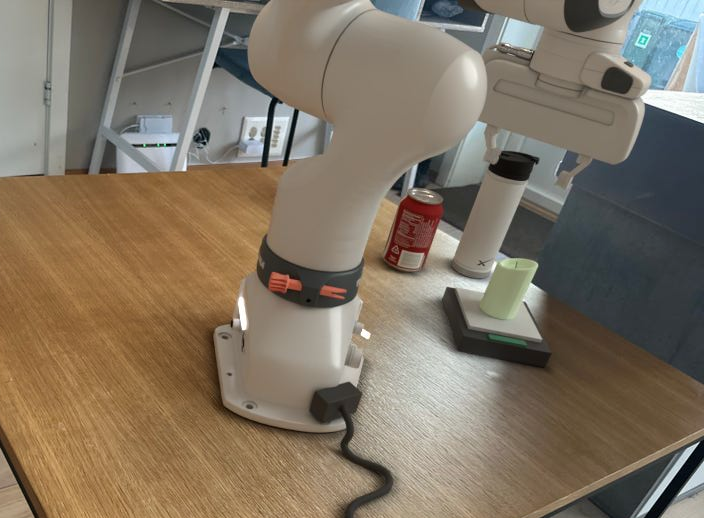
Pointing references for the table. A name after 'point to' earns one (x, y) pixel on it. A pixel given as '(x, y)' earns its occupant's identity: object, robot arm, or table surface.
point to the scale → (494, 330)
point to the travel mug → (493, 213)
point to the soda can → (413, 230)
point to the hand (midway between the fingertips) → (524, 174)
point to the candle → (508, 287)
